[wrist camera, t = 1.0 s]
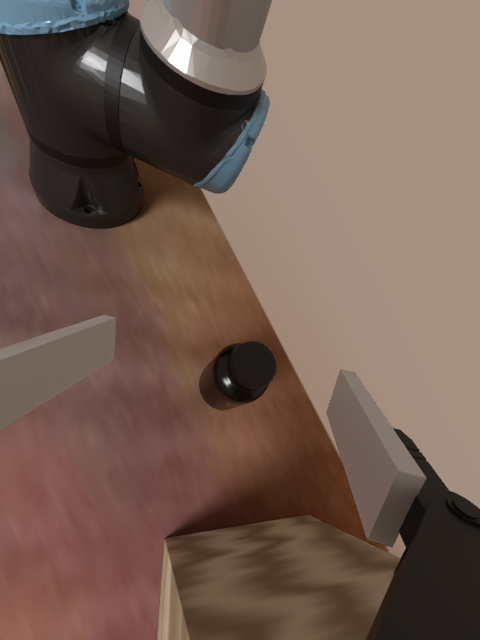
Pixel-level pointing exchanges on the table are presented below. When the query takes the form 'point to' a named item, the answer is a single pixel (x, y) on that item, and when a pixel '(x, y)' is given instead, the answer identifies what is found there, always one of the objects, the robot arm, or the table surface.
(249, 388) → the supplement bottle
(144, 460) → the table surface
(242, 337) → the table surface
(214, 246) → the table surface
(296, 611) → the birch stand
